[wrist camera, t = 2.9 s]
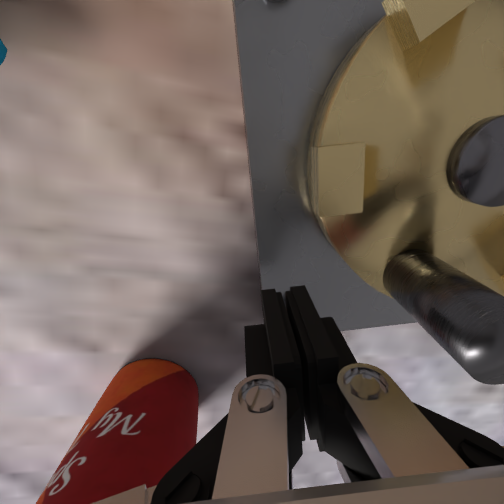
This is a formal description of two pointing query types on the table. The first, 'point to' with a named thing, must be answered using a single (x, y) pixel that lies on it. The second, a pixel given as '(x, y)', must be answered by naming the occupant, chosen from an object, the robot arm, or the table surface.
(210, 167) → the table surface
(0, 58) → the gear
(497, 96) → the brass paddle wheel
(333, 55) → the base plate
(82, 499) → the coffee cup
